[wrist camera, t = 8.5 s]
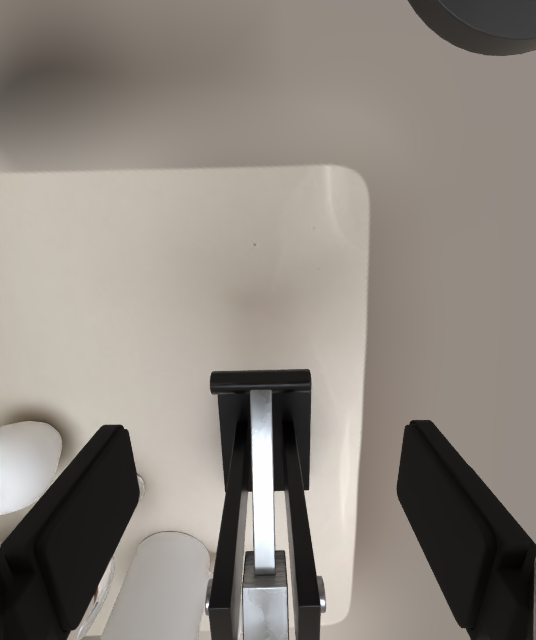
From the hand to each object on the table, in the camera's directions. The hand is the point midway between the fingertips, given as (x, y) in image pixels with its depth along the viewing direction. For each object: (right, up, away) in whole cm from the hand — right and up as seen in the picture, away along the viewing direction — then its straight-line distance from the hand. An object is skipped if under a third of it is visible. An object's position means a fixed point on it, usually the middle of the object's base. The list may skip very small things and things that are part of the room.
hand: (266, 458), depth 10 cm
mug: (-8, -21, +22) cm, 32 cm away
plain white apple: (-21, -6, +18) cm, 29 cm away
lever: (0, -5, +7) cm, 8 cm away
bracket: (0, -6, +18) cm, 19 cm away
